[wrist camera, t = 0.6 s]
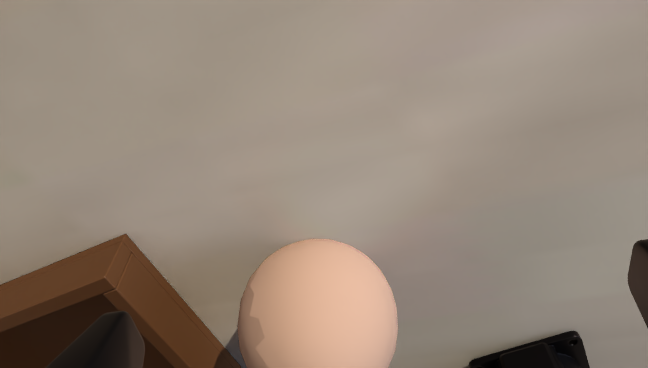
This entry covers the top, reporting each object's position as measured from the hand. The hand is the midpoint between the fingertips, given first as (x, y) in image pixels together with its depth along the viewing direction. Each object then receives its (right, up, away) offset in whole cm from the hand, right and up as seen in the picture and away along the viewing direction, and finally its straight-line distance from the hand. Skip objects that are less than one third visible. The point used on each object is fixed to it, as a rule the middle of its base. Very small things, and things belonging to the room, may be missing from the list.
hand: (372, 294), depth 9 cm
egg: (-1, -2, +18) cm, 18 cm away
